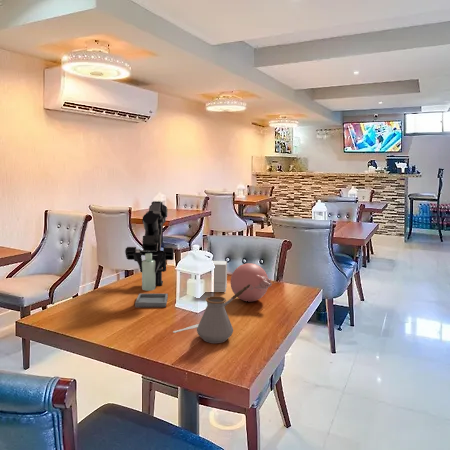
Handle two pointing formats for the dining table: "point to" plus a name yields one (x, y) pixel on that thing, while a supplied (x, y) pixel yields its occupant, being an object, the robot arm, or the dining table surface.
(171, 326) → the dining table surface
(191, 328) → the butter knife
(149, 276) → the glass bottle
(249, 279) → the pomegranate
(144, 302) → the slate tray
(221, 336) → the coffee pot
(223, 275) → the supplement box
